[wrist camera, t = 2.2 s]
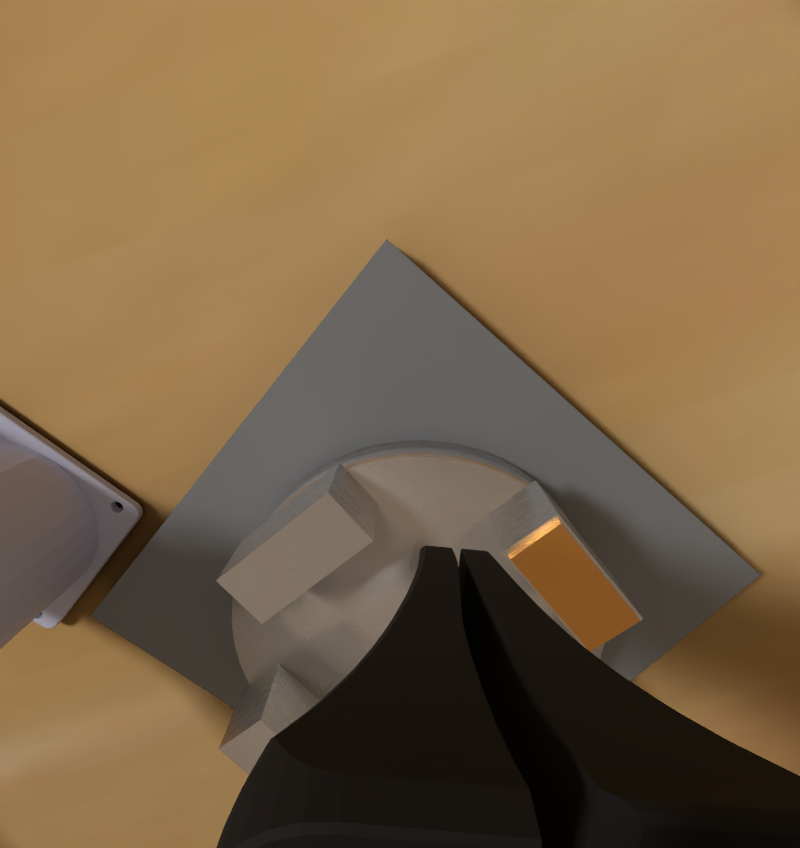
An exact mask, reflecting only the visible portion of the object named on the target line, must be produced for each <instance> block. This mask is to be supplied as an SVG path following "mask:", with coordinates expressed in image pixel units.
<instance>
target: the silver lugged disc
mask: <svg viewBox="0 0 800 848" xmlns="http://www.w3.org/2000/svg"><path fill="white" fill-rule="evenodd" d="M425 545H427V546H438V547H449V548H452V549H453V551H454V553H455V556H456V559H457V561H458V566H459V559H460V552H461V549H471V550H482V551H488V552H489V553H490V554H491V555H492V556H493V557H494V558H495V560H496V561H497V562H498V563H499V564H500V565H501V566H502V567H503V569H504V570H505V571H506V572H507V573H508V574H509V575H510V576H511V577H512V578H513V580H514V581H515V582H516V583H517V584H518V585H519V586H520V587H521V588H522V589H523V590H524V591H525V592H526V594H527V595H528V596H529V597H530V598H531V599H532V600H533V601H534V602H535V603H536V604H537V605H538V606H539V607H540V608H541V609H542V610H543V611H544V612H545V613H546V614H547V615H548V616H550V617H551V618H552V619H553V620H554V621H555V622H556V623H557V624H558V625H559V626H560V627H562V628H563V629H564V630H565V631H566V632H567V633H568V634H569V635H570V636H572V637H573V638H574V639H575V640H576V641H578V642H579V643H580V644H581V645H582V646H584V647H585V648H586V649H587V650H589V651H590V652H591V653H593V654H594V655H595V656H596V657H598V658H599V659H600V657H601V654H602V650H603V647H604V643H605V642H607V641H609V640H610V639H612V638H614V637H615V636H617V635H618V634H620V633H622V632H623V631H625V630H626V629H628V628H630V627H631V626H633V625H635V624H636V623H638V622H639V621H641V620H643V618H642V616H641V615H640V614H639V612H638V611H637V609H636V608H635V606H634V605H633V604H632V602H631V601H630V599H629V598H628V597H627V595H626V594H625V592H624V591H623V590H622V588H621V587H620V585H619V584H618V582H617V581H616V580H615V578H614V577H613V575H612V574H611V573H610V571H609V570H608V569H607V568H606V566H605V565H604V564H603V563H602V561H601V560H600V559H599V558H598V557H597V555H596V554H595V553H594V552H593V550H592V549H591V548H590V547H589V545H588V544H587V543H586V542H585V540H584V539H583V538H582V537H581V536H580V534H579V533H578V532H577V530H576V529H575V528H574V526H573V525H572V523H571V522H570V520H569V519H568V517H567V516H566V514H565V513H564V512H563V511H562V509H561V508H560V507H559V505H558V504H557V503H556V501H555V500H554V499H553V498H552V496H550V495H549V494H548V493H547V492H546V491H545V490H544V489H543V488H542V487H541V486H540V485H539V484H538V482H537V481H536V480H533V479H532V478H531V477H529V476H528V475H526V474H525V473H524V472H522V471H521V470H520V469H518V468H516V467H515V466H513V465H511V464H509V463H507V462H505V461H504V460H502V459H500V458H498V457H496V456H493V455H490V454H488V453H485V452H483V451H480V450H477V449H474V448H470V447H466V446H462V445H458V444H454V443H447V442H438V441H430V440H409V441H397V442H389V443H382V444H377V445H373V446H370V447H366V448H362V449H358V450H355V451H353V452H350V453H348V454H345V455H343V456H341V457H338V458H336V459H334V460H332V461H330V462H328V463H327V464H325V465H323V466H321V467H320V468H318V469H316V470H314V471H313V472H312V473H311V474H309V475H308V476H307V477H305V478H304V479H303V480H301V481H300V482H299V483H298V484H296V485H295V486H294V487H293V488H292V489H291V490H290V491H289V492H288V493H287V495H286V496H285V497H284V498H283V499H282V500H281V501H280V502H279V504H278V505H277V506H276V508H275V509H274V510H273V512H272V513H271V515H270V516H269V517H268V519H267V521H265V522H264V523H263V524H262V525H260V526H259V527H258V528H257V529H255V530H254V531H253V532H252V533H250V534H249V535H248V536H247V537H245V538H244V539H243V540H242V542H241V543H240V545H239V546H238V548H237V549H236V551H235V552H234V554H233V555H232V557H231V559H230V560H229V562H228V563H227V565H226V566H225V568H224V569H223V571H222V572H221V574H220V575H219V577H218V579H217V580H216V581H217V582H218V583H219V584H220V585H221V586H222V587H223V588H224V589H225V590H226V591H227V592H228V593H229V594H230V595H232V596H233V602H232V630H233V637H234V645H235V648H236V652H237V655H238V659H239V662H240V665H241V667H242V669H243V672H244V674H245V676H246V678H247V680H248V683H249V684H250V685H249V686H248V687H246V688H245V689H243V691H242V693H241V695H240V698H239V700H238V703H237V705H236V708H235V710H234V713H233V715H232V717H231V720H230V722H229V725H228V727H227V730H226V732H225V735H224V737H223V739H222V742H221V744H220V747H219V750H221V751H222V752H223V753H224V754H225V755H226V756H228V757H229V758H230V759H231V760H232V761H234V762H235V763H236V764H237V765H238V766H239V767H241V768H242V769H243V770H244V771H245V772H247V773H248V774H249V775H250V773H251V771H252V769H253V767H254V766H255V764H256V762H257V761H258V759H259V757H260V755H261V754H262V752H263V750H264V749H265V747H266V745H267V744H268V742H269V741H270V739H271V738H273V737H274V736H275V735H277V734H278V733H279V732H281V731H282V730H283V729H285V728H286V727H287V726H289V725H290V724H291V723H293V722H294V721H295V720H297V719H298V718H299V717H301V716H302V715H303V714H305V713H306V712H307V711H308V710H310V709H311V708H312V707H313V706H315V705H316V704H317V703H318V702H319V701H320V700H321V699H323V698H324V697H325V696H326V695H327V694H328V693H329V692H330V691H331V690H332V689H333V688H334V687H335V686H336V685H338V684H339V683H340V682H341V681H342V680H343V679H344V678H345V677H346V676H347V675H348V674H349V673H350V672H351V671H352V670H353V669H354V668H355V667H356V665H357V664H358V663H359V662H360V661H361V660H362V659H363V657H364V656H365V655H366V654H367V653H368V651H369V650H370V649H371V648H372V647H373V645H374V644H375V643H376V642H377V640H378V639H379V637H380V636H381V635H382V633H383V632H384V631H385V629H386V628H387V626H388V625H389V623H390V622H391V620H392V619H393V617H394V615H395V614H396V612H397V610H398V608H399V607H400V605H401V603H402V601H403V600H404V598H405V596H406V594H407V592H408V590H409V587H410V585H411V583H412V581H413V578H414V576H415V574H416V571H417V568H418V561H419V553H420V549H421V548H422V547H424V546H425Z"/></svg>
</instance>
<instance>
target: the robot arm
mask: <svg viewBox="0 0 800 848" xmlns="http://www.w3.org/2000/svg"><path fill="white" fill-rule="evenodd" d="M116 501H117V502H119V503H121V505H122V506H123V509H121V508H119V507H118V506H117V505H116ZM142 514H143V510H142V507H141V506H140V505H139V504H138V503H137V502H136V501H135V500H133V499H132V498H130V497H129V496H127V495H126V494H125V493H123V492H122V491H120V490H119V489H117V488H116V487H115V486H113V485H112V484H110V483H109V482H107V481H106V480H105V479H103V478H102V477H100V476H99V475H97V474H96V473H95V472H93V471H92V470H90V469H89V468H87V467H86V466H85V465H83V464H82V463H80V462H79V461H77V460H76V459H75V458H73V457H72V456H70V455H69V454H67V453H66V452H65V451H63V450H62V449H60V448H59V447H57V446H56V445H55V444H53V443H52V442H50V441H49V440H47V439H46V438H45V437H43V436H42V435H40V434H39V433H37V432H36V431H35V430H33V429H32V428H30V427H29V426H27V425H26V424H25V423H23V422H22V421H20V420H19V419H17V418H16V417H15V416H13V415H12V414H10V413H9V412H7V411H6V410H5V409H3V408H2V407H0V649H1V648H2V647H3V646H4V645H5V644H6V643H8V642H9V641H10V640H11V639H12V638H13V637H14V636H15V635H17V634H18V633H19V632H20V631H21V630H22V629H23V628H24V627H26V626H27V625H28V624H29V623H30V622H31V621H32V620H33V621H35V622H36V623H38V624H39V625H41V626H43V627H45V628H54V627H56V626H57V625H58V624H59V623H60V622H61V621H62V620H63V618H64V617H65V616H66V615H67V613H68V612H69V611H70V609H71V608H72V607H73V605H74V604H75V603H76V602H77V600H78V599H79V598H80V596H81V595H82V594H83V592H84V591H85V590H86V589H87V587H88V586H89V585H90V583H91V582H92V581H93V579H94V578H95V577H96V576H97V574H98V573H99V572H100V570H101V569H102V568H103V566H104V565H105V564H106V563H107V561H108V560H109V559H110V557H111V556H112V555H113V553H114V552H115V551H116V549H117V548H118V547H119V546H120V544H121V543H122V542H123V540H124V539H125V538H126V536H127V535H128V534H129V533H130V531H131V530H132V529H133V527H134V526H135V525H136V523H137V522H138V521H139V520H140V518H141V517H142ZM217 848H800V776H799V775H797V774H794V773H792V772H790V771H788V770H786V769H784V768H782V767H780V766H778V765H776V764H774V763H772V762H770V761H768V760H766V759H764V758H762V757H760V756H758V755H756V754H754V753H752V752H750V751H748V750H746V749H744V748H742V747H740V746H738V745H736V744H734V743H732V742H730V741H728V740H726V739H724V738H722V737H721V736H719V735H717V734H715V733H714V732H712V731H710V730H708V729H707V728H705V727H703V726H701V725H699V724H698V723H696V722H694V721H692V720H691V719H689V718H687V717H685V716H684V715H682V714H680V713H679V712H677V711H675V710H674V709H672V708H671V707H669V706H667V705H666V704H664V703H662V702H661V701H659V700H658V699H656V698H655V697H653V696H652V695H650V694H649V693H647V692H645V691H644V690H642V689H641V688H639V687H638V686H636V685H635V684H633V683H632V682H630V681H629V680H627V679H626V678H625V677H623V676H622V675H620V674H619V673H618V672H616V671H615V670H613V669H612V668H611V667H609V666H608V665H607V664H605V663H604V662H603V661H601V660H600V659H599V658H598V657H596V656H595V655H594V654H593V653H591V652H590V651H589V650H587V649H586V648H585V647H584V646H582V645H581V644H580V643H579V642H578V641H576V640H575V639H574V638H573V637H572V636H570V635H569V634H568V633H567V632H566V631H565V630H564V629H563V628H562V627H560V626H559V625H558V624H557V623H556V622H555V621H554V620H553V619H552V618H551V617H550V616H548V615H547V614H546V613H545V612H544V611H543V610H542V609H541V608H540V607H539V606H538V605H537V604H536V603H535V602H534V601H533V600H532V599H531V598H530V597H529V596H528V595H527V594H526V592H525V591H524V590H523V589H522V588H521V587H520V586H519V585H518V584H517V583H516V582H515V581H514V580H513V578H512V577H511V576H510V575H509V574H508V573H507V572H506V571H505V570H504V569H503V567H502V566H501V565H500V564H499V563H498V562H497V561H496V560H495V558H494V557H493V556H492V555H491V554H490V553H489V552H488V551H482V550H471V549H461V552H460V559H459V566H458V561H457V559H456V556H455V553H454V551H453V549H452V548H449V547H438V546H427V545H425V546H424V547H422V548H421V549H420V553H419V561H418V568H417V571H416V574H415V576H414V578H413V581H412V583H411V585H410V587H409V590H408V592H407V594H406V596H405V598H404V600H403V601H402V603H401V605H400V607H399V608H398V610H397V612H396V614H395V615H394V617H393V619H392V620H391V622H390V623H389V625H388V626H387V628H386V629H385V631H384V632H383V633H382V635H381V636H380V637H379V639H378V640H377V642H376V643H375V644H374V645H373V647H372V648H371V649H370V650H369V651H368V653H367V654H366V655H365V656H364V657H363V659H362V660H361V661H360V662H359V663H358V664H357V665H356V667H355V668H354V669H353V670H352V671H351V672H350V673H349V674H348V675H347V676H346V677H345V678H344V679H343V680H342V681H341V682H340V683H339V684H338V685H336V686H335V687H334V688H333V689H332V690H331V691H330V692H329V693H328V694H327V695H326V696H325V697H324V698H323V699H321V700H320V701H319V702H318V703H317V704H316V705H315V706H313V707H312V708H311V709H310V710H308V711H307V712H306V713H305V714H303V715H302V716H301V717H299V718H298V719H297V720H295V721H294V722H293V723H291V724H290V725H289V726H287V727H286V728H285V729H283V730H282V731H281V732H279V733H278V734H277V735H275V736H274V737H273V738H271V739H270V741H269V742H268V744H267V745H266V747H265V749H264V750H263V752H262V754H261V755H260V757H259V759H258V761H257V762H256V764H255V766H254V767H253V769H252V771H251V773H250V775H249V776H248V778H247V780H246V782H245V784H244V786H243V787H242V789H241V791H240V793H239V796H238V798H237V800H236V802H235V804H234V806H233V808H232V811H231V813H230V815H229V817H228V819H227V821H226V824H225V826H224V829H223V831H222V834H221V837H220V839H219V842H218V845H217Z"/></svg>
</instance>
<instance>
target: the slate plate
mask: <svg viewBox="0 0 800 848" xmlns="http://www.w3.org/2000/svg"><path fill="white" fill-rule="evenodd" d="M409 440H430V441H438V442H447V443H454V444H458V445H462V446H466V447H470V448H474V449H477V450H480V451H483V452H485V453H488V454H490V455H493V456H496V457H498V458H500V459H502V460H504V461H505V462H507V463H509V464H511V465H513V466H515V467H516V468H518V469H520V470H521V471H522V472H524V473H525V474H526V475H528V476H529V477H531V478H532V479H533V480H536V481H537V482H538V484H539V485H540V486H541V487H542V488H543V489H544V490H545V491H546V492H547V493H548V494H549V495H550V496H552V498H553V499H554V500H555V501H556V503H557V504H558V505H559V507H560V508H561V509H562V511H563V512H564V513H565V514H566V516H567V517H568V519H569V520H570V522H571V523H572V525H573V526H574V528H575V529H576V530H577V532H578V533H579V534H580V536H581V537H582V538H583V539H584V540H585V542H586V543H587V544H588V545H589V547H590V548H591V549H592V550H593V552H594V553H595V554H596V555H597V557H598V558H599V559H600V560H601V561H602V563H603V564H604V565H605V566H606V568H607V569H608V570H609V571H610V573H611V574H612V575H613V577H614V578H615V580H616V581H617V582H618V584H619V585H620V587H621V588H622V590H623V591H624V592H625V594H626V595H627V597H628V598H629V599H630V601H631V602H632V604H633V605H634V606H635V608H636V609H637V611H638V612H639V614H640V615H641V616H642V618H643V620H641V621H639V622H638V623H636V624H635V625H633V626H631V627H630V628H628V629H626V630H625V631H623V632H622V633H620V634H618V635H617V636H615V637H614V638H612V639H610V640H609V641H607V642H605V643H604V647H603V650H602V654H601V657H600V660H601V661H603V662H604V663H605V664H607V665H608V666H609V667H611V668H612V669H613V670H615V671H616V672H618V673H619V674H620V675H622V676H623V677H625V678H626V679H627V680H629V681H631V680H632V679H634V678H635V677H636V676H637V675H639V674H640V673H641V672H642V671H643V670H645V669H646V668H647V667H648V666H650V665H651V664H652V663H653V662H654V661H656V660H657V659H658V658H659V657H661V656H662V655H663V654H664V653H666V652H667V651H668V650H669V649H670V648H672V647H673V646H674V645H675V644H677V643H678V642H679V641H680V640H681V639H683V638H684V637H685V636H686V635H688V634H689V633H690V632H691V631H693V630H694V629H695V628H696V627H697V626H699V625H700V624H701V623H702V622H704V621H705V620H706V619H707V618H708V617H710V616H711V615H712V614H713V613H715V612H716V611H717V610H718V609H720V608H721V607H722V606H723V605H724V604H726V603H727V602H728V601H729V600H731V599H732V598H733V597H734V596H735V595H737V594H738V593H739V592H740V591H742V590H743V589H744V588H745V587H747V586H748V585H749V584H750V583H751V582H753V581H754V580H755V579H756V578H758V577H759V576H760V574H759V573H758V572H757V571H756V570H755V569H754V568H752V567H751V566H750V565H749V564H748V563H747V562H746V561H745V560H744V559H742V558H741V557H740V556H739V555H738V554H737V553H736V552H735V551H734V550H732V549H731V548H730V547H729V546H728V545H727V544H726V543H725V542H723V541H722V540H721V539H720V538H719V537H718V536H717V535H716V534H715V533H713V532H712V531H711V530H710V529H709V528H708V527H707V526H706V525H705V524H703V523H702V522H701V521H700V520H699V519H698V518H697V517H696V516H695V515H693V514H692V513H691V512H690V511H689V510H688V509H687V508H686V507H685V506H683V505H682V504H681V503H680V502H679V501H678V500H677V499H676V498H675V497H673V496H672V495H671V494H670V493H669V492H668V491H667V490H666V489H664V488H663V487H662V486H661V485H660V484H659V483H658V482H657V481H656V480H654V479H653V478H652V477H651V476H650V475H649V474H648V473H647V472H646V471H644V470H643V469H642V468H641V467H640V466H639V465H638V464H637V463H636V462H634V461H633V460H632V459H631V458H630V457H629V456H628V455H627V454H626V453H624V452H623V451H622V450H621V449H620V448H619V447H618V446H617V445H616V444H614V443H613V442H612V441H611V440H610V439H609V438H608V437H607V436H606V435H604V434H603V433H602V432H601V431H600V430H599V429H598V428H597V427H595V426H594V425H593V424H592V423H591V422H590V421H589V420H588V419H587V418H585V417H584V416H583V415H582V414H581V413H580V412H579V411H578V410H577V409H575V408H574V407H573V406H572V405H571V404H570V403H569V402H568V401H567V400H565V399H564V398H563V397H562V396H561V395H560V394H559V393H558V392H557V391H555V390H554V389H553V388H552V387H551V386H550V385H549V384H548V383H547V382H545V381H544V380H543V379H542V378H541V377H540V376H539V375H538V374H536V373H535V372H534V371H533V370H532V369H531V368H530V367H529V366H528V365H526V364H525V363H524V362H523V361H522V360H521V359H520V358H519V357H518V356H516V355H515V354H514V353H513V352H512V351H511V350H510V349H509V348H508V347H506V346H505V345H504V344H503V343H502V342H501V341H500V340H499V339H498V338H496V337H495V336H494V335H493V334H492V333H491V332H490V331H489V330H488V329H486V328H485V327H484V326H483V325H482V324H481V323H480V322H479V321H477V320H476V319H475V318H474V317H473V316H472V315H471V314H470V313H469V312H467V311H466V310H465V309H464V308H463V307H462V306H461V305H460V304H459V303H457V302H456V301H455V300H454V299H453V298H452V297H451V296H450V295H449V294H447V293H446V292H445V291H444V290H443V289H442V288H441V287H440V286H439V285H437V284H436V283H435V282H434V281H433V280H432V279H431V278H430V277H429V276H427V275H426V274H425V273H424V272H423V271H422V270H421V269H420V268H418V267H417V266H416V265H415V264H414V263H413V262H412V261H411V260H410V259H408V258H407V257H406V256H405V255H404V254H403V253H402V252H401V251H400V250H398V249H397V248H396V247H395V246H394V245H393V244H392V243H391V242H390V241H388V240H387V239H386V241H385V242H384V243H383V244H382V246H381V247H380V248H379V250H378V251H377V252H376V253H375V255H374V256H373V257H372V258H371V260H370V261H369V262H368V264H367V265H366V266H365V267H364V269H363V270H362V271H361V272H360V274H359V275H358V276H357V278H356V279H355V280H354V281H353V283H352V284H351V285H350V286H349V288H348V289H347V290H346V292H345V293H344V294H343V295H342V297H341V298H340V299H339V300H338V302H337V303H336V304H335V306H334V307H333V308H332V309H331V311H330V312H329V313H328V314H327V316H326V317H325V318H324V320H323V321H322V322H321V323H320V325H319V326H318V327H317V328H316V330H315V331H314V332H313V334H312V335H311V336H310V337H309V339H308V340H307V341H306V342H305V344H304V345H303V346H302V348H301V349H300V350H299V351H298V353H297V354H296V355H295V356H294V358H293V359H292V360H291V362H290V363H289V364H288V365H287V367H286V368H285V369H284V370H283V372H282V373H281V374H280V376H279V377H278V378H277V379H276V381H275V382H274V383H273V384H272V386H271V387H270V388H269V390H268V391H267V392H266V393H265V395H264V396H263V397H262V398H261V400H260V401H259V402H258V404H257V405H256V406H255V407H254V409H253V410H252V411H251V412H250V414H249V415H248V416H247V418H246V419H245V420H244V421H243V423H242V424H241V425H240V426H239V428H238V429H237V430H236V431H235V433H234V434H233V435H232V437H231V438H230V439H229V440H228V442H227V443H226V444H225V445H224V447H223V448H222V449H221V451H220V452H219V453H218V454H217V456H216V457H215V458H214V459H213V461H212V462H211V463H210V465H209V466H208V467H207V468H206V470H205V471H204V472H203V473H202V475H201V476H200V477H199V479H198V480H197V481H196V482H195V484H194V485H193V486H192V487H191V489H190V490H189V491H188V493H187V494H186V495H185V496H184V498H183V499H182V500H181V501H180V503H179V504H178V505H177V507H176V508H175V509H174V510H173V512H172V513H171V514H170V515H169V517H168V518H167V519H166V521H165V522H164V523H163V524H162V526H161V527H160V528H159V529H158V531H157V532H156V533H155V535H154V536H153V537H152V538H151V540H150V541H149V542H148V543H147V545H146V546H145V547H144V549H143V550H142V551H141V552H140V554H139V555H138V556H137V557H136V559H135V560H134V561H133V563H132V564H131V565H130V566H129V568H128V569H127V570H126V571H125V573H124V574H123V575H122V577H121V578H120V579H119V580H118V582H117V583H116V584H115V585H114V587H113V588H112V589H111V591H110V592H109V593H108V594H107V596H106V597H105V598H104V599H103V601H102V602H101V603H100V605H99V606H98V607H97V608H96V610H95V611H94V612H93V613H92V615H91V617H93V618H94V619H96V620H97V621H99V622H101V623H102V624H104V625H105V626H107V627H108V628H110V629H111V630H113V631H115V632H116V633H118V634H119V635H121V636H122V637H124V638H125V639H127V640H129V641H130V642H132V643H133V644H135V645H136V646H138V647H140V648H141V649H143V650H144V651H146V652H147V653H149V654H150V655H152V656H154V657H155V658H157V659H158V660H160V661H161V662H163V663H164V664H166V665H168V666H169V667H171V668H172V669H174V670H175V671H177V672H178V673H180V674H182V675H183V676H185V677H186V678H188V679H189V680H191V681H193V682H194V683H196V684H197V685H199V686H200V687H202V688H203V689H205V690H207V691H208V692H210V693H211V694H213V695H214V696H216V697H217V698H219V699H221V700H222V701H224V702H225V703H227V704H228V705H230V706H231V707H233V708H236V705H237V703H238V700H239V698H240V695H241V693H242V691H243V689H245V688H246V687H248V686H249V685H250V684H249V683H248V680H247V678H246V676H245V674H244V672H243V669H242V667H241V665H240V662H239V659H238V655H237V652H236V648H235V645H234V637H233V630H232V602H233V596H232V595H230V594H229V593H228V592H227V591H226V590H225V589H224V588H223V587H222V586H221V585H220V584H219V583H218V582H217V581H216V580H217V579H218V577H219V575H220V574H221V572H222V571H223V569H224V568H225V566H226V565H227V563H228V562H229V560H230V559H231V557H232V555H233V554H234V552H235V551H236V549H237V548H238V546H239V545H240V543H241V542H242V540H243V539H244V538H245V537H247V536H248V535H249V534H250V533H252V532H253V531H254V530H255V529H257V528H258V527H259V526H260V525H262V524H263V523H264V522H265V521H267V519H268V517H269V516H270V515H271V513H272V512H273V510H274V509H275V508H276V506H277V505H278V504H279V502H280V501H281V500H282V499H283V498H284V497H285V496H286V495H287V493H288V492H289V491H290V490H291V489H292V488H293V487H294V486H295V485H296V484H298V483H299V482H300V481H301V480H303V479H304V478H305V477H307V476H308V475H309V474H311V473H312V472H313V471H314V470H316V469H318V468H320V467H321V466H323V465H325V464H327V463H328V462H330V461H332V460H334V459H336V458H338V457H341V456H343V455H345V454H348V453H350V452H353V451H355V450H358V449H362V448H366V447H370V446H373V445H377V444H382V443H389V442H397V441H409Z"/></svg>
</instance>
